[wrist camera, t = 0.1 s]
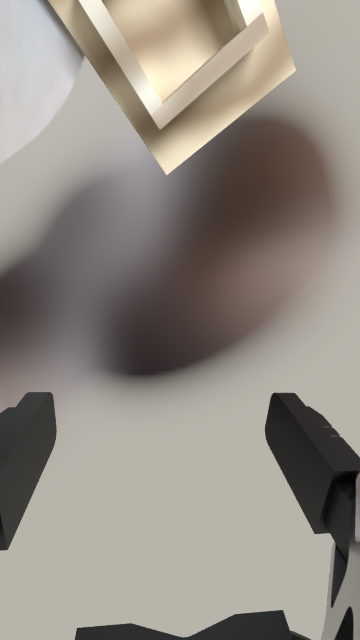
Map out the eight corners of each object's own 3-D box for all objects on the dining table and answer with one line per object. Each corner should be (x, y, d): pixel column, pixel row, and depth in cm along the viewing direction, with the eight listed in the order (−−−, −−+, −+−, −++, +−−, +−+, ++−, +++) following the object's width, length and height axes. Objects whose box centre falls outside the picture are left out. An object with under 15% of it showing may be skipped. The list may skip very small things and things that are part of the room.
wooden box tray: (17, -49, 22) (-12, -76, 19) (178, -286, 17) (184, -392, 13) (166, 173, 33) (167, 184, 30) (292, 71, 28) (313, 68, 24)
